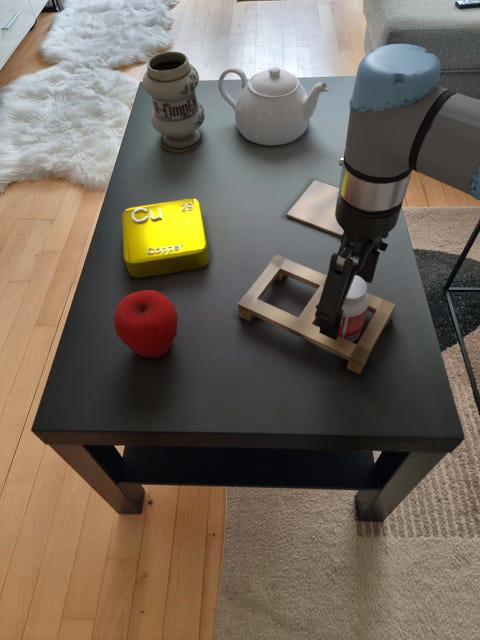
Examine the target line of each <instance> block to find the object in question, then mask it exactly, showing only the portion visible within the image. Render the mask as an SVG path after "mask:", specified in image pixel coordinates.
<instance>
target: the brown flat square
mask: <svg viewBox="0 0 480 640" xmlns="http://www.w3.org/2000/svg"><path fill="white" fill-rule="evenodd" d="M338 191H339V187H337V186H334V185H331V184H328V183H325V182H322V181H321V180H320V181H319V180H317V179H314V180H313V181H312V182H311V184H310V185H309V186H308V187H307V188H306V190H305V191H304V192H303V193H302V195H301V196H300V197H299V198H298V199H297V201H295V203H294V205H293V206H292V207H291V208H290V209H289V210H288V212H287V213H286V217H287V218H289V219H291V220H295V221H297V222H300V223H303V224H305V225H308V226H310V227H314V228H316V229H319V230H321V231H323V232H327V233H329V234H332V235H334V236H337V237H339V238H342V235H343V232H344V231H343V229H342V228H341V227H340V225H339V224H338V222H337V220H336V217H335V210H336V203H337V196H338Z"/></svg>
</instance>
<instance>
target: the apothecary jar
mask: <svg viewBox="0 0 480 640" xmlns="http://www.w3.org/2000/svg"><path fill="white" fill-rule="evenodd" d="M189 61H190V60H189V58H188V56H187V55H186V54H185V53H183V52H181V51H172V50H170V51H161V52H159V53H156V54H155V55H152V56H151V57H150V58H149V59H148V61H147V63H146V68H147V69H146V71H145V72H144V74H143V77H142V86H143V89H144V90H145V92H146V93H147V94H148V95H149V96H150V97H151V100H152V105H153V110H152V112H151V114H150V122H151V125H152V127H153V128H154V129H155V131H156V132H158V133H159V134H161V136H160V139H161V142H160V144H161V146H162V147H163V148H164V149H165V150H168V151H171V152H174V153H175V152H176V153H181V152H187V151H190V150H192V149H195V148H196V147H198V146H199V145H200V144H201V143H202V142H203V138H204V137H203V133H202V131H201V130H200V129H199V128H201V126H202V125H203V123H204V122H205V117H206V116H205V114H206V113H205V110H204V109H205V108H204V107H203V105H201V104H200V102H199V101H198V100H197V94H196V88H197V86H198V84H199V82H200V76H199V72H198V70H197V69H196V68H195V66H193V65H192V64H191V63H190V62H189Z"/></svg>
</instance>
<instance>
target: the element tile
mask: <svg viewBox="0 0 480 640" xmlns="http://www.w3.org/2000/svg"><path fill="white" fill-rule="evenodd" d="M121 218H122V221H121V222H122V247H123V248H122V249H123V250H122V251H123V259H124V263H125V265H126V268H127V271H128V273H129V275H130V276H131V277H133V278H137V279H141V278H149V277H153V276H160V275H167V274H172V273H178V272H184V271H190V270H191V271H192V270H197V269H201V268H204V267H206V266H207V265H208V264H209V261H210V253H209V248H208V241H207V236H206V230H205V229H206V228H205V224H204V220H203V219H204V218H203V212H202V207H201V203H200V202H199V200H197V199H196V198H184V199H176V200H170V201H163V202H156V203H151V204H143V205H138V206H132V207H128V208H126V209H125V210H124V211H123V213H122V217H121Z"/></svg>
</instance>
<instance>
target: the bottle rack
mask: <svg viewBox="0 0 480 640" xmlns="http://www.w3.org/2000/svg"><path fill="white" fill-rule="evenodd" d="M327 275H328V274H324V273H321V272H319V271H317V270H315V269H312V268H310V267H307V266H305V265H302V264H300V263H298V262H296V261H293V260H290V259H288V258H285V257H283V256H281V255H279V254H275V256H274V257H273V258H272V260H271V261H270V262H269V264H267V266H266V267H265V269H264V270H263V272H261V274H260V275H259V276H258V277H257V279H256V280H255V282H254V283H253V284H252V285H251V287H250V288H249V289H248V290H247V292H246V293H245V294H244V295H243V297H242V298H241V300H240V301H239V302H238V303H237V305H238V317H240V318H242V319H244V320H246V321H248V322H251V321H252V320H253V318H254V317H256V318H259V319H261V320H262V321H265V322H267V323H269V324H270V325H273V326H276V327H277V328H279V329H282V330H284V331H286V332H288V333H290V334H292V335H294V336H296V337H298V338H300V339H301V340H302V339H303V340H304V341H306V342H308V343H311V344H313V345H315V346H317V347H319V348H322V349H323V350H325V351H328V352H330V353H332V354H334V355H336V356H338V357H340V358H341V359H345V360H347V366H346V369H348V370H350V371H351V372H354V373H356V374H358V375H361V373H362V372H363V370H364V368H365V366H366V364H367V362H368V359H369V356H370V354H371V352H372V350H373V348H374V347H375V345H376V344H377V341H378V339H379V338H380V336H381V334H382V332H383V330H384V329H385V328H387V326H388V325H389V323H390V321H391V319H392V318H393V314H394V311H395V309H396V306H397V304H396V303H393V302H391V301H389V300H386V299H384V298H381V297H379V296H376V295H374V294H372V293H370V292H366V293H367V295H368V298H369V303H368V308H367V312H370V313H373V316H372V317H371V319H370V321H369V323H368V324H367V326H366V328H365V329H364V331H363V332H362V335H360V337H359V340H358V342H357V343H354V342H350V341H348V340H346V339H343V338H341V337H339V336H338V338H337V339H336V340H334V339H332V338H329V337H327V336H325V335H323V334H321V333H319V331H320V326H318V325H315V323H316V321H317V320H318V318H316V317H315V313H316V311H317V309H316V305H317V304H319V301H320V298H321V294H322V291H323V288H324V284H325V281H326V278H327ZM284 276H286V277H289V278H291V279H293V280H296V281H298V282H301V283H303V284H305V285H308V286H310V287H312V288H314V289H317V290H316V291H315V292H314V294H313V295H312V297H311V298H310V300H309V301H308V303H307V304H306V305H305V307H304V309H303V310H302V312H301V313H300V314H299V316H296V315H294V314H292V313H290V312H287V311H285V310H284V309H283V310H282V309H280V308H278V307H276V306H274V305H272V304H270V303H267V302H265V301H263V300H261V299H262V298H263V296H264V295H265V294H266V293H267V291H268V290H269V288H270V287H271V286H272V284H273V283H274V282H275V281H277V282H281V281H282V280H283V278H284Z"/></svg>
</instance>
